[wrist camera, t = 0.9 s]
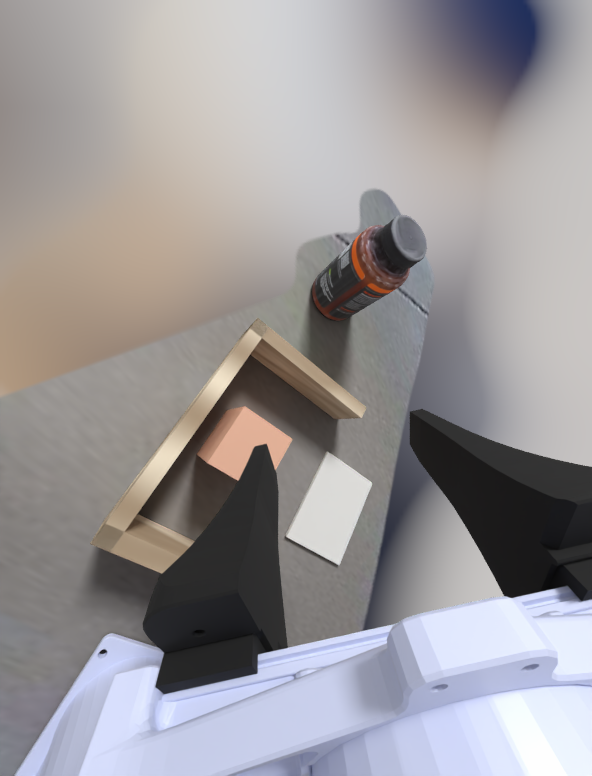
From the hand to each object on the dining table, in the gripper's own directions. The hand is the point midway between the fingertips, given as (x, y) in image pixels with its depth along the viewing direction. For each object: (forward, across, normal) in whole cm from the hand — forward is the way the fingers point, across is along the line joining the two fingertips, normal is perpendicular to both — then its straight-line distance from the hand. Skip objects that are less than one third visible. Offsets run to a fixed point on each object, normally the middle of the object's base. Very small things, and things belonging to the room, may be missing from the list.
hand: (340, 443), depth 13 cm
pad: (+9, +1, +15) cm, 18 cm away
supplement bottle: (+22, -5, -3) cm, 23 cm away
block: (+10, +8, +6) cm, 14 cm away
